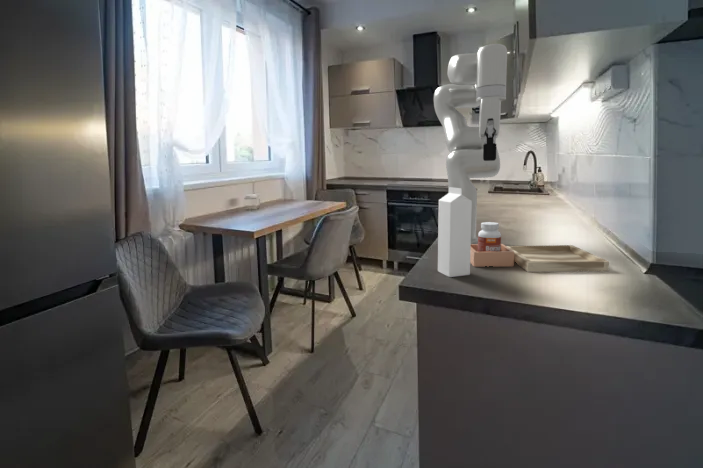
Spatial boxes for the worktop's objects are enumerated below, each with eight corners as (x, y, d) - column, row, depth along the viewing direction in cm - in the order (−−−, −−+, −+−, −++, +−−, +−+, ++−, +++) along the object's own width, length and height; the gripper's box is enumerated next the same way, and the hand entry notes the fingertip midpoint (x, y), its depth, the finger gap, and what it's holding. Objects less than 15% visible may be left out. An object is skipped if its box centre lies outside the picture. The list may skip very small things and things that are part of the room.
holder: (465, 257, 124) (465, 244, 123) (502, 257, 123) (502, 243, 122) (473, 266, 113) (474, 252, 112) (513, 266, 112) (514, 251, 112)
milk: (449, 277, 104) (450, 189, 100) (437, 271, 110) (437, 187, 105) (470, 274, 106) (472, 187, 102) (457, 268, 111) (459, 186, 107)
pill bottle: (485, 265, 114) (486, 225, 112) (472, 260, 120) (473, 222, 118) (504, 263, 116) (506, 223, 114) (491, 258, 122) (492, 220, 120)
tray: (504, 254, 126) (504, 246, 126) (571, 253, 125) (572, 245, 125) (527, 271, 107) (528, 262, 106) (608, 271, 105) (609, 261, 105)
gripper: (477, 101, 120) (476, 161, 122) (475, 90, 104) (474, 160, 106) (504, 99, 118) (503, 160, 120) (507, 87, 101) (505, 159, 104)
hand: (489, 160), depth 113 cm, fingers open, 9 cm apart
